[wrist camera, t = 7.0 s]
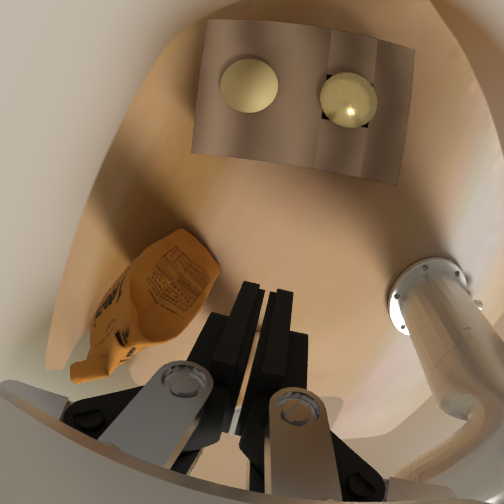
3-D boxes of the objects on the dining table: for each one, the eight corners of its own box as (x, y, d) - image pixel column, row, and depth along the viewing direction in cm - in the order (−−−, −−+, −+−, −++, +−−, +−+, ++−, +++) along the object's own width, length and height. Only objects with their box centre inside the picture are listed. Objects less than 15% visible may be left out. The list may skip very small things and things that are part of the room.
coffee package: (129, 262, 44) (34, 349, 24) (186, 215, 40) (86, 300, 20) (170, 312, 46) (100, 418, 26) (232, 274, 42) (175, 395, 22)
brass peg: (364, 89, 30) (380, 79, 23) (358, 132, 32) (373, 133, 25) (319, 80, 30) (323, 67, 23) (313, 124, 32) (316, 121, 25)
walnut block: (392, 64, 29) (417, 48, 21) (377, 174, 34) (398, 187, 26) (226, 39, 31) (205, 17, 23) (213, 148, 36) (188, 153, 28)
